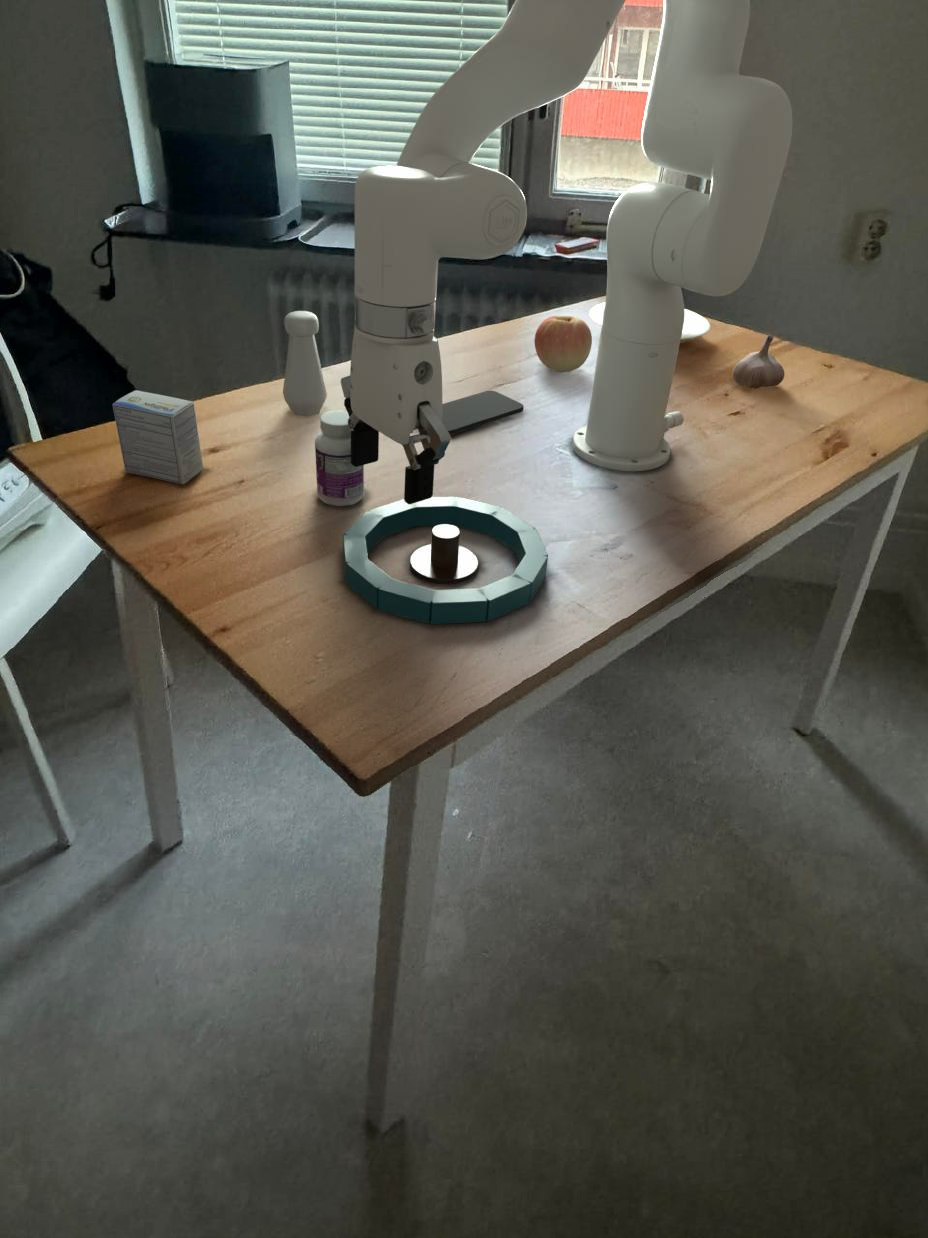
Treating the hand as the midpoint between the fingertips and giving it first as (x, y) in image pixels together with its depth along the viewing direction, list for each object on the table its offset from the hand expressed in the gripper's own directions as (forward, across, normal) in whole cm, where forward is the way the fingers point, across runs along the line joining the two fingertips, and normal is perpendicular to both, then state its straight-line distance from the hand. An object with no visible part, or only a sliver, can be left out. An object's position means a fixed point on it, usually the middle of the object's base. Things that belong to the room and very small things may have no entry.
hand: (390, 481), depth 93 cm
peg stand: (+6, -9, 0) cm, 11 cm away
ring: (+6, -9, 0) cm, 11 cm away
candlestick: (+5, +29, -72) cm, 78 cm away
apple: (+5, +26, -50) cm, 57 cm away
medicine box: (+6, +25, +14) cm, 30 cm away
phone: (+5, +19, -26) cm, 33 cm away
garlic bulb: (+5, +5, -72) cm, 73 cm away
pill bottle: (+6, +9, 0) cm, 11 cm away
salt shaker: (+6, +32, -8) cm, 34 cm away
